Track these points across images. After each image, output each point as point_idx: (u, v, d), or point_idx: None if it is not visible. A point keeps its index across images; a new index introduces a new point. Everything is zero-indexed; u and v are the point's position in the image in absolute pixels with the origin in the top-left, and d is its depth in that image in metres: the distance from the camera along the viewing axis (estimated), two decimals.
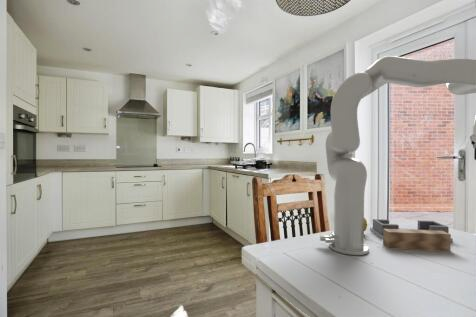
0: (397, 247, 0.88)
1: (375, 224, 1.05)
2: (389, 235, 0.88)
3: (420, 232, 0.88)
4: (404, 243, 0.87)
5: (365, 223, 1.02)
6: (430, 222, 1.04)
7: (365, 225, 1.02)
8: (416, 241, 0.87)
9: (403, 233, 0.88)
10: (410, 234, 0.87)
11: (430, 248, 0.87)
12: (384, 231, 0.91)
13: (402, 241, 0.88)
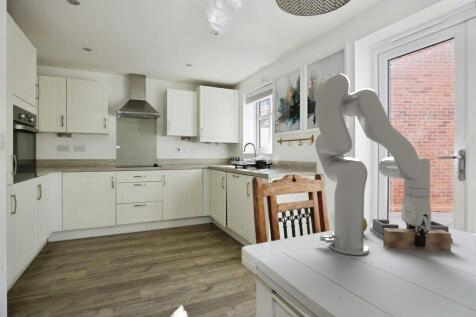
0: (397, 246, 0.88)
1: (375, 224, 1.05)
2: (389, 234, 0.88)
3: None
4: (405, 242, 0.88)
5: (365, 223, 1.02)
6: None
7: (365, 225, 1.02)
8: None
9: (403, 232, 0.88)
10: (410, 233, 0.87)
11: (430, 247, 0.87)
12: (384, 231, 0.91)
13: (402, 241, 0.88)
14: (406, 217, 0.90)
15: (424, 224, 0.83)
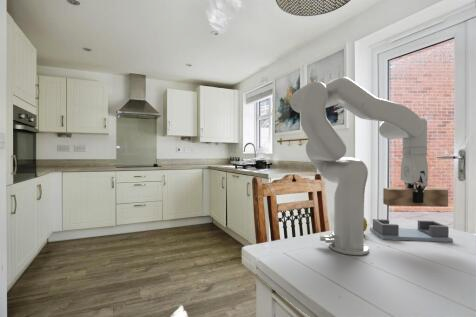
0: (396, 203, 0.92)
1: (375, 224, 1.05)
2: (388, 192, 0.92)
3: None
4: (403, 200, 0.92)
5: (365, 223, 1.02)
6: (430, 222, 1.04)
7: (365, 225, 1.02)
8: None
9: (402, 190, 0.92)
10: (409, 191, 0.92)
11: (428, 204, 0.91)
12: (384, 190, 0.95)
13: (401, 198, 0.92)
14: (405, 176, 0.94)
15: (421, 180, 0.88)
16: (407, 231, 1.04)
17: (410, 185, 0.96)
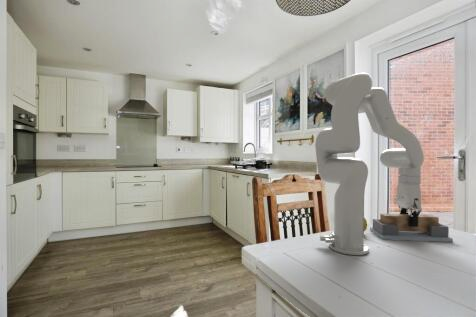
0: None
1: (375, 224, 1.05)
2: (385, 218, 1.01)
3: None
4: (399, 225, 1.01)
5: (365, 223, 1.02)
6: None
7: (365, 225, 1.02)
8: None
9: (397, 217, 1.01)
10: (403, 217, 1.00)
11: (421, 229, 1.00)
12: (381, 215, 1.04)
13: (397, 224, 1.01)
14: (400, 201, 1.03)
15: (415, 205, 0.96)
16: (407, 231, 1.04)
17: (403, 208, 1.06)
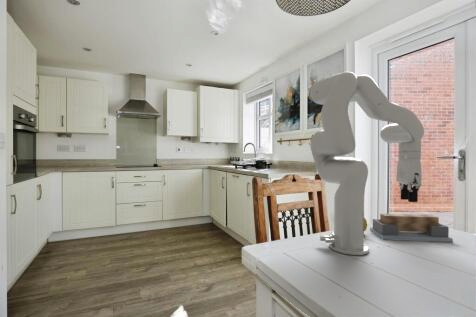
0: None
1: (375, 224, 1.05)
2: (385, 218, 1.01)
3: (412, 216, 1.01)
4: (399, 225, 1.01)
5: (365, 223, 1.02)
6: None
7: (365, 225, 1.02)
8: (409, 223, 1.00)
9: (397, 217, 1.01)
10: (403, 217, 1.00)
11: (421, 229, 1.00)
12: (381, 215, 1.04)
13: (397, 224, 1.01)
14: (400, 177, 1.03)
15: (415, 180, 0.96)
16: (407, 231, 1.04)
17: (404, 185, 1.06)
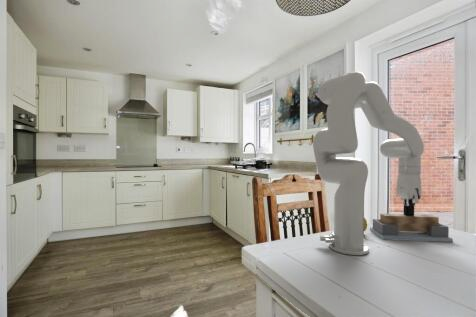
0: None
1: (375, 224, 1.05)
2: (385, 218, 1.01)
3: (412, 216, 1.01)
4: (399, 225, 1.01)
5: (365, 223, 1.02)
6: None
7: (365, 225, 1.02)
8: (409, 223, 1.00)
9: (397, 217, 1.01)
10: (403, 217, 1.00)
11: (421, 229, 1.00)
12: (381, 216, 1.04)
13: (397, 224, 1.01)
14: (400, 192, 1.03)
15: (414, 199, 0.97)
16: (407, 231, 1.04)
17: None
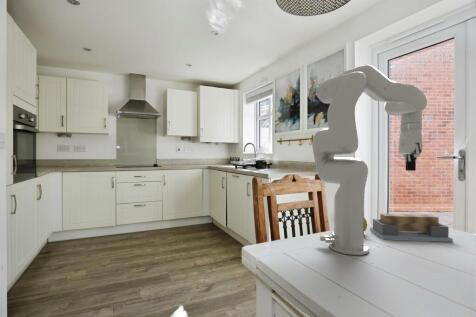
0: None
1: (375, 224, 1.05)
2: (385, 218, 1.01)
3: (412, 216, 1.01)
4: (399, 225, 1.01)
5: (365, 223, 1.02)
6: None
7: (365, 225, 1.02)
8: (409, 223, 1.00)
9: (397, 217, 1.01)
10: (403, 217, 1.00)
11: (421, 229, 1.00)
12: (381, 215, 1.04)
13: (397, 224, 1.01)
14: (402, 148, 1.08)
15: (415, 153, 1.03)
16: (407, 231, 1.04)
17: None
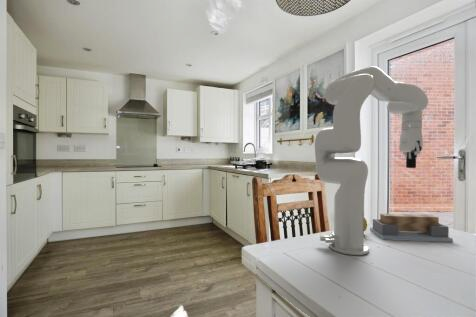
0: None
1: (375, 224, 1.05)
2: (385, 218, 1.01)
3: (412, 216, 1.01)
4: (399, 225, 1.01)
5: (365, 223, 1.02)
6: None
7: (365, 225, 1.02)
8: (409, 223, 1.00)
9: (397, 217, 1.01)
10: (403, 217, 1.00)
11: (421, 229, 1.00)
12: (381, 215, 1.04)
13: (397, 224, 1.01)
14: (403, 146, 1.12)
15: (416, 150, 1.06)
16: (407, 231, 1.04)
17: None
